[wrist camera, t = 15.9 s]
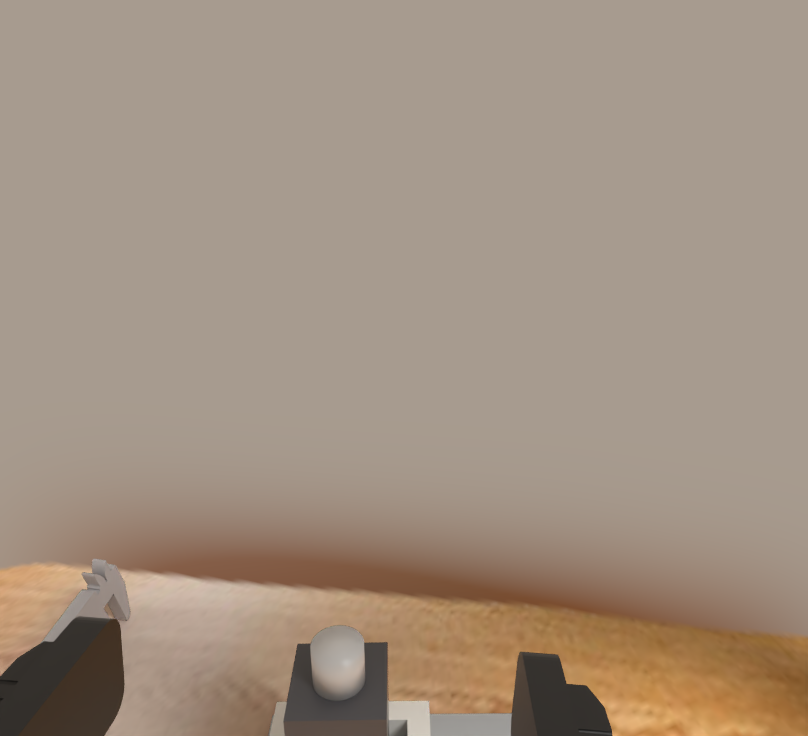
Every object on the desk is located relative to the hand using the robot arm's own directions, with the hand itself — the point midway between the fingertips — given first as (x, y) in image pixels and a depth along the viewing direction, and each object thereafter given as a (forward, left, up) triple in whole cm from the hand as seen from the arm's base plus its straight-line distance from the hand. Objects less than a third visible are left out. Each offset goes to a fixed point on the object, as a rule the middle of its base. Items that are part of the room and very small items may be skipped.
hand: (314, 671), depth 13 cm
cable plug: (+1, -13, -23) cm, 26 cm away
